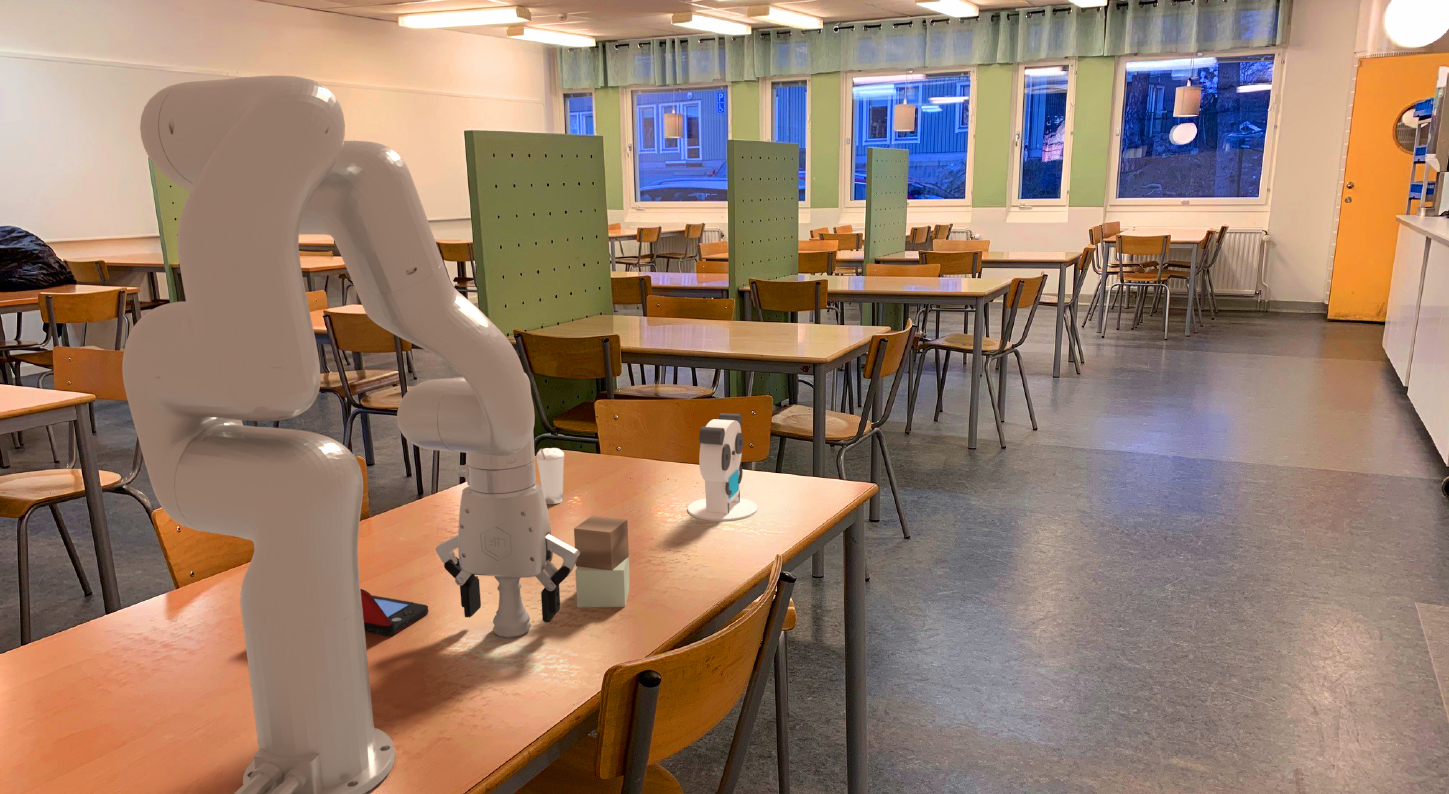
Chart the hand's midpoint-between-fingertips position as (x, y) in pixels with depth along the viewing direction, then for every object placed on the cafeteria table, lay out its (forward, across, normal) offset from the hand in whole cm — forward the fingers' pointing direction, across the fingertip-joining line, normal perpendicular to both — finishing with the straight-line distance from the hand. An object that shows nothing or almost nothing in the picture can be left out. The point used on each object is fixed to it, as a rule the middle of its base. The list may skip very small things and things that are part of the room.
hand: (511, 615), depth 115 cm
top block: (-3, +8, +11) cm, 14 cm away
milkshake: (+2, -12, +47) cm, 49 cm away
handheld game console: (+2, -19, 0) cm, 19 cm away
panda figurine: (+2, +17, +47) cm, 50 cm away
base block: (+2, +8, +11) cm, 14 cm away
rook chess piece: (+2, 0, 0) cm, 2 cm away
